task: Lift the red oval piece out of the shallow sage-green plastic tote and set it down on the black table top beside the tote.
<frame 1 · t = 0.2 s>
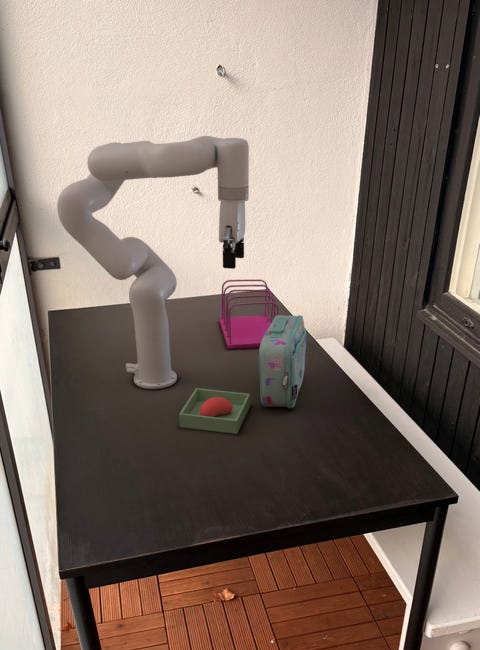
hand: (233, 262, 167), 36 cm above the table, tool pointing down, fingers open, 9 cm apart
file sorter: (248, 334, 221), on the table
lunch box: (282, 394, 183), on the table
red oval piece: (215, 416, 171), resting on tote
tote: (215, 416, 171), on the table
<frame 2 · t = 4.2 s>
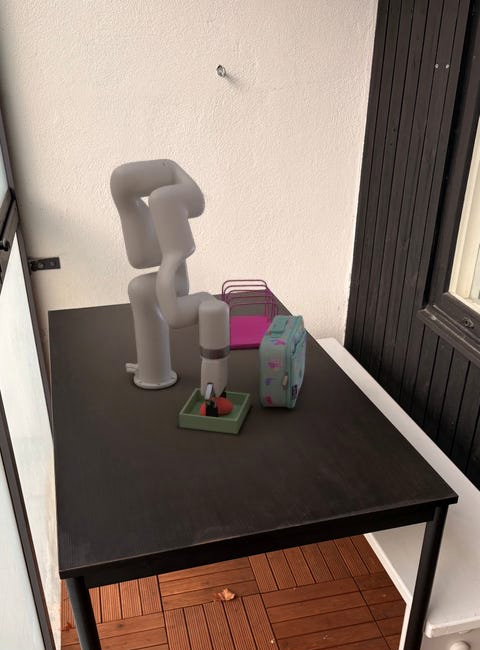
hand: (216, 411, 170), 2 cm above the table, tool pointing down, fingers closed on red oval piece, 7 cm apart
red oval piece: (216, 415, 171), resting on tote, touching gripper
everything else where it was.
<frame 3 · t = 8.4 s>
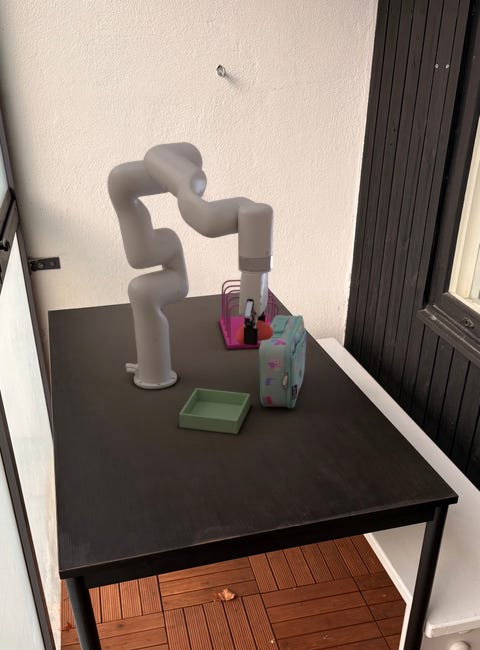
hand: (254, 337, 151), 26 cm above the table, tool pointing down, fingers closed on red oval piece, 7 cm apart
red oval piece: (254, 342, 152), point 25 cm above the table, touching gripper
everything else where it was.
when the fingers open (1 cm above the table, at t = 12.7 s): red oval piece stays where it is, on the table.
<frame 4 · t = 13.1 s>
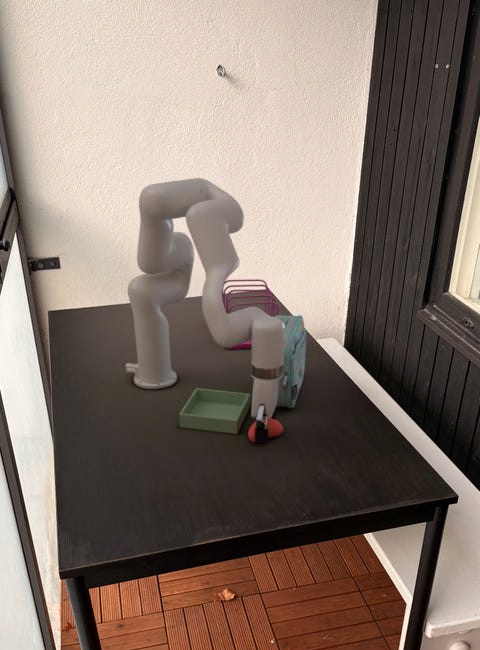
hand: (265, 431, 161), 2 cm above the table, tool pointing down, fingers open, 9 cm apart
red oval piece: (264, 438, 162), on the table
everything else where it was.
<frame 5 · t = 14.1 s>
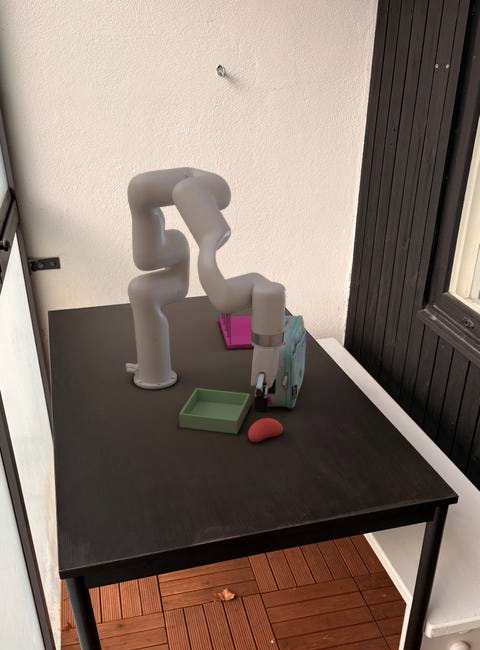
hand: (265, 402, 157), 10 cm above the table, tool pointing down, fingers open, 9 cm apart
nothing on the table moved.
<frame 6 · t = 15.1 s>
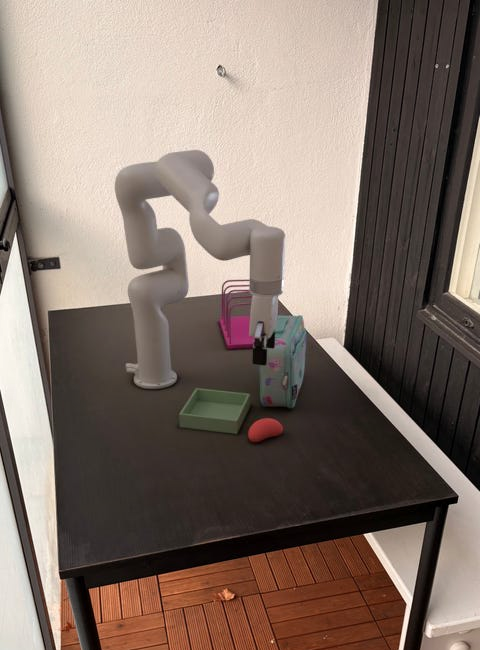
hand: (263, 355, 152), 22 cm above the table, tool pointing down, fingers open, 9 cm apart
nothing on the table moved.
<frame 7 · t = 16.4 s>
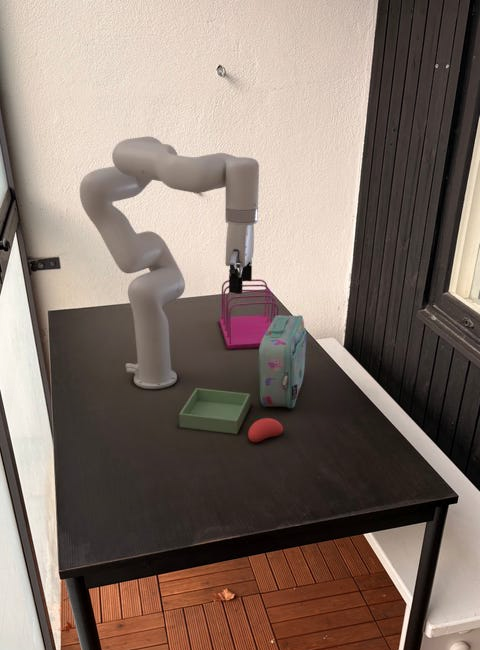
hand: (240, 286, 159), 34 cm above the table, tool pointing down, fingers open, 9 cm apart
nothing on the table moved.
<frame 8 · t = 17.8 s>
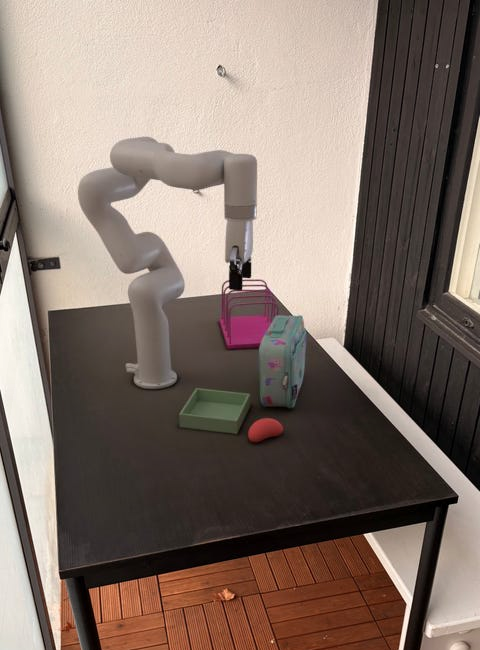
hand: (240, 283, 159), 34 cm above the table, tool pointing down, fingers open, 9 cm apart
nothing on the table moved.
at the end: red oval piece inside the target area (0.4 cm from its centre), on the table; red oval piece touching table; the gripper is holding nothing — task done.
